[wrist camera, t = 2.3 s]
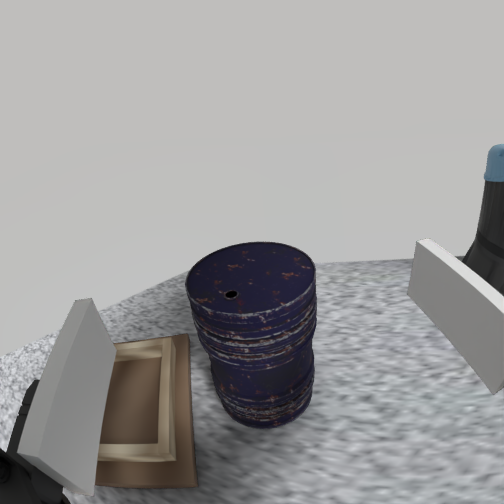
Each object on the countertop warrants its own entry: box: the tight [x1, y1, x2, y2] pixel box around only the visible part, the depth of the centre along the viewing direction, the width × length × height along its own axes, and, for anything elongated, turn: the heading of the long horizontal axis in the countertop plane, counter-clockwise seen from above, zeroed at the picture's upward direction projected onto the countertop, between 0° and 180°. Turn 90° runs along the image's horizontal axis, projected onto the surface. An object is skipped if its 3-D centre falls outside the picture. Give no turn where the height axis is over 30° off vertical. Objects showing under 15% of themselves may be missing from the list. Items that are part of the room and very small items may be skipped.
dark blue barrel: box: [185, 242, 317, 429], centre depth 26 cm, size 10×10×15 cm
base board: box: [95, 334, 198, 488], centre depth 27 cm, size 18×20×3 cm
